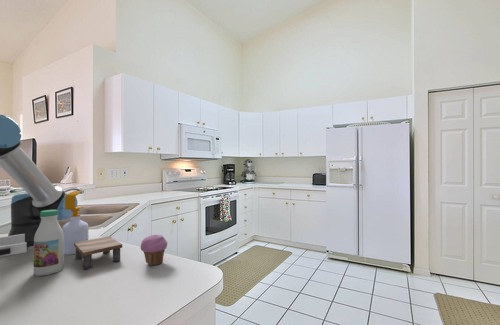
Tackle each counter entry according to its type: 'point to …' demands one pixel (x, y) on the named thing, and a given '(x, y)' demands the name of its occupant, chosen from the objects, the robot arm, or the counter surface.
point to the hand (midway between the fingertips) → (25, 242)
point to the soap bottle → (73, 225)
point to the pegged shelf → (96, 249)
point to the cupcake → (154, 249)
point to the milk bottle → (48, 245)
